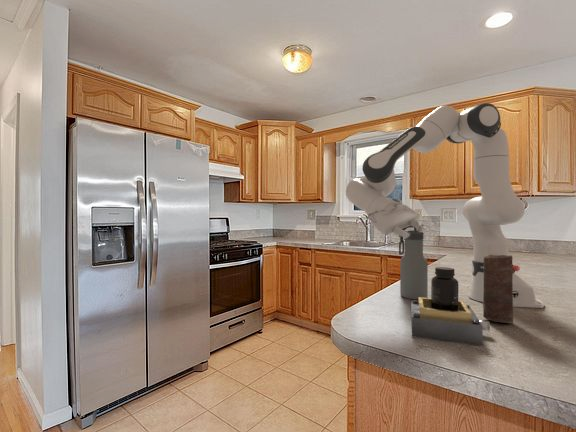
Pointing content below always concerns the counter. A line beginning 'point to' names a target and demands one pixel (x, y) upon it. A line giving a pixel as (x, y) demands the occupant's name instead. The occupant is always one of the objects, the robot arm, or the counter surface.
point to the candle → (498, 288)
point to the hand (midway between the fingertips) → (415, 233)
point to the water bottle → (413, 266)
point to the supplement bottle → (444, 290)
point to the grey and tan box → (446, 323)
